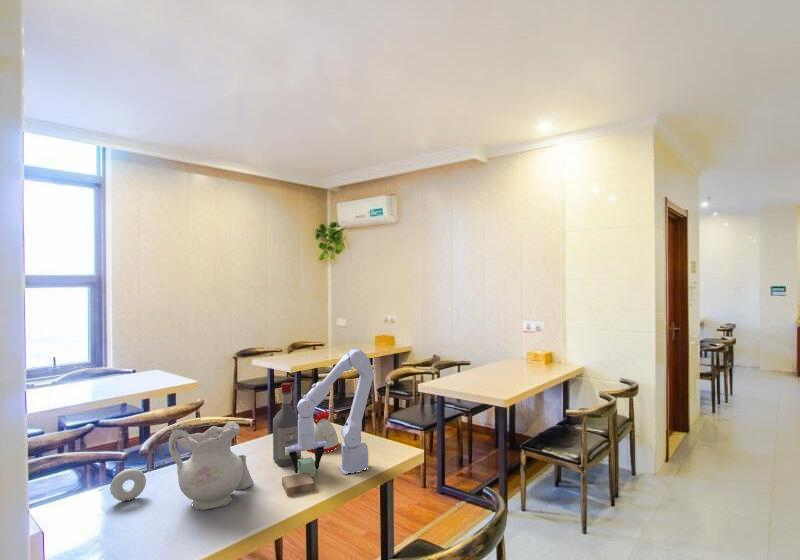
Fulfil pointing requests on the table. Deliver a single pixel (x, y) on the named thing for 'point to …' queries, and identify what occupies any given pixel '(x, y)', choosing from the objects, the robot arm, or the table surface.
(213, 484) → the ceramic pitcher
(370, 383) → the robot arm
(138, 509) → the table surface
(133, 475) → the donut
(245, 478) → the flask
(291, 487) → the walnut base
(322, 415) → the white bell
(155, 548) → the table surface
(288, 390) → the liquor
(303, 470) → the sage cube
